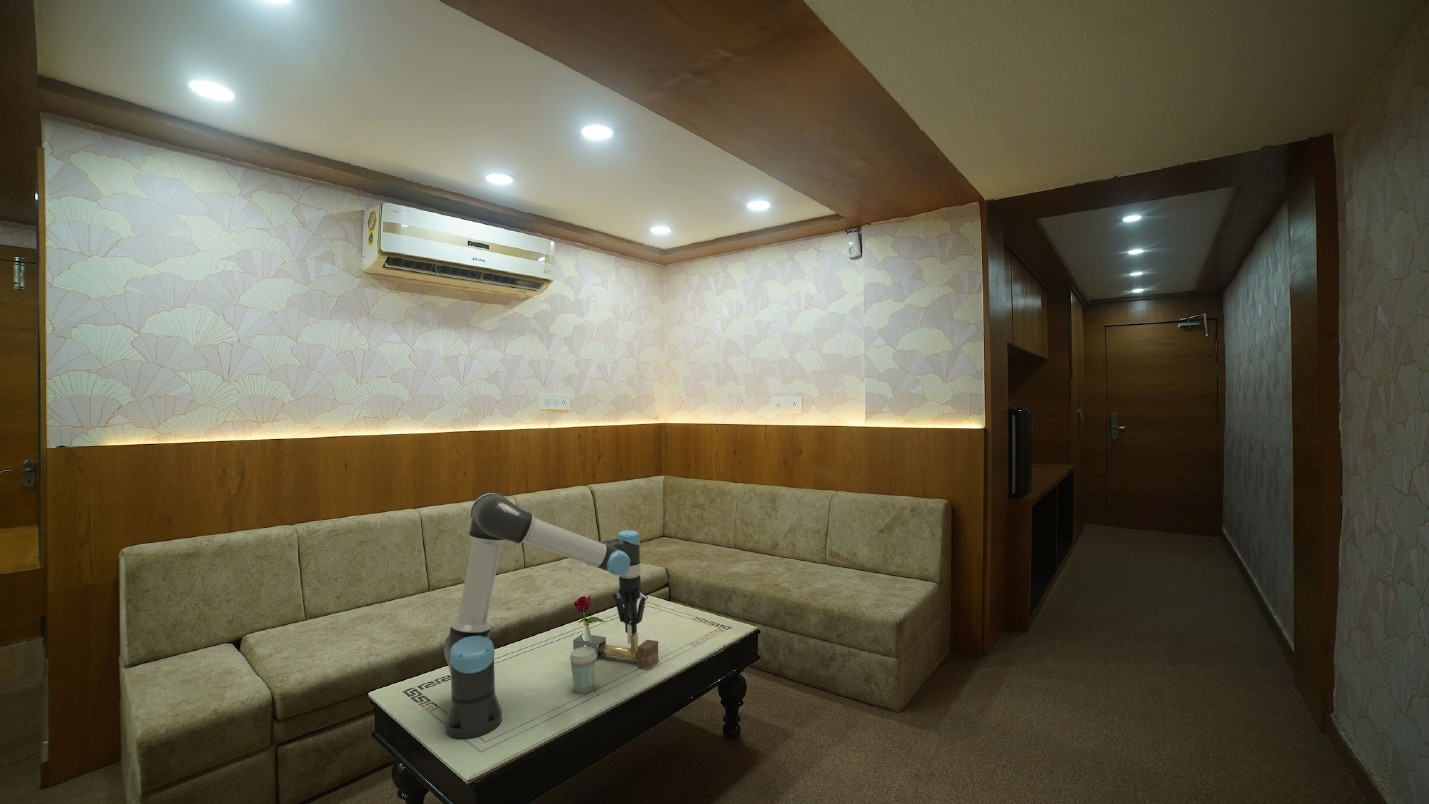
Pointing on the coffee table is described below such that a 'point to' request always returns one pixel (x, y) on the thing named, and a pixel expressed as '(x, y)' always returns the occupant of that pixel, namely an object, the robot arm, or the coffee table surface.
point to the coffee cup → (583, 668)
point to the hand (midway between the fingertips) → (631, 642)
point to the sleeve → (590, 643)
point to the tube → (621, 649)
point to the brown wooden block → (647, 654)
